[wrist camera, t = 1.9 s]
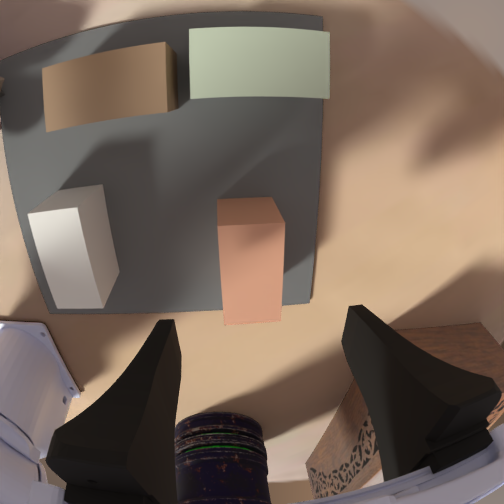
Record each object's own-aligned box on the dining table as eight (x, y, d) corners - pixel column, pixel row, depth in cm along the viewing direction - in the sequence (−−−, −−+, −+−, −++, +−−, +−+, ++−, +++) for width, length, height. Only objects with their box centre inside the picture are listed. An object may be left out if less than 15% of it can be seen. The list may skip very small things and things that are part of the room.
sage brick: (305, 44, 15) (329, 32, 11) (305, 97, 16) (329, 98, 13) (195, 43, 14) (189, 29, 11) (196, 98, 16) (190, 99, 12)
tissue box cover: (376, 329, 26) (426, 419, 17) (479, 320, 28) (528, 381, 19) (305, 461, 37) (319, 521, 29) (390, 446, 39) (411, 496, 31)
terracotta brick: (270, 282, 22) (280, 321, 18) (222, 285, 21) (224, 325, 18) (271, 196, 19) (285, 222, 15) (217, 199, 18) (217, 226, 15)
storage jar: (261, 450, 33) (279, 558, 20) (181, 453, 33) (182, 562, 19) (264, 407, 29) (288, 548, 16) (164, 411, 28) (158, 551, 15)
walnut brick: (177, 53, 14) (165, 41, 11) (178, 108, 16) (167, 112, 12) (75, 71, 14) (42, 68, 10) (78, 123, 15) (46, 132, 12)
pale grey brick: (119, 271, 20) (103, 308, 16) (78, 273, 20) (57, 308, 16) (102, 184, 17) (77, 207, 14) (58, 190, 17) (27, 213, 13)
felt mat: (308, 300, 23) (309, 303, 23) (51, 311, 21) (49, 313, 21) (320, 17, 14) (322, 16, 14) (1, 61, 12) (-2, 61, 12)
